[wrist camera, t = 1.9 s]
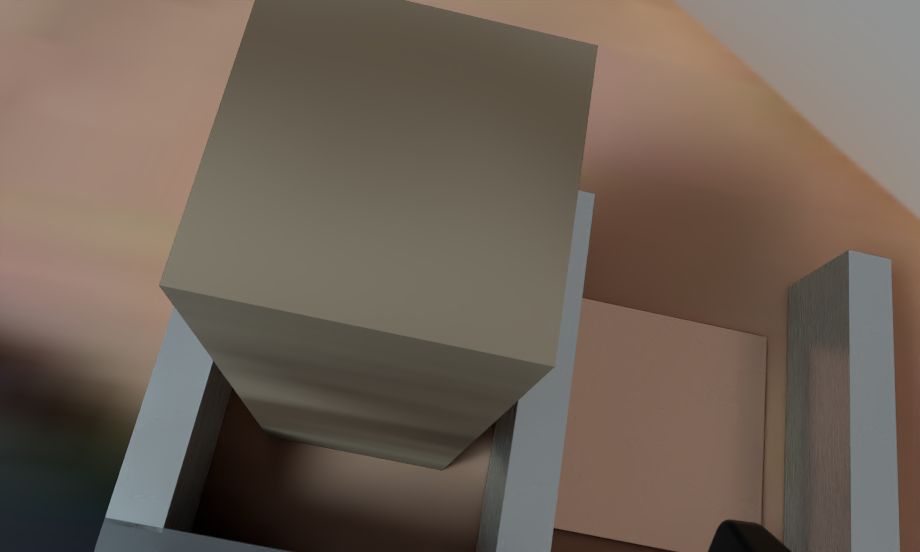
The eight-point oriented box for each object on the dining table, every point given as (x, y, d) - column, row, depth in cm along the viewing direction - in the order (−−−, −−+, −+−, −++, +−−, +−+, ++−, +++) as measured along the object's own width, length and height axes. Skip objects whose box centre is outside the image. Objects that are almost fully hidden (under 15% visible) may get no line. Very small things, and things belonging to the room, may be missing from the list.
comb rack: (825, 702, 19) (905, 727, 17) (125, 574, 18) (84, 578, 16) (826, 294, 23) (891, 259, 21) (251, 170, 22) (236, 114, 19)
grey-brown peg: (442, 470, 20) (555, 366, 9) (267, 436, 20) (158, 284, 9) (471, 306, 22) (597, 45, 11) (310, 272, 21) (265, -33, 10)
